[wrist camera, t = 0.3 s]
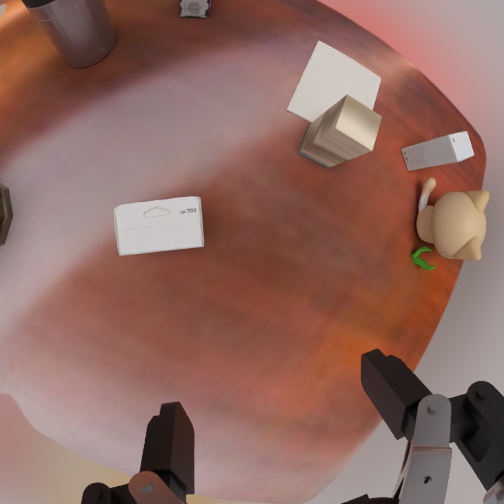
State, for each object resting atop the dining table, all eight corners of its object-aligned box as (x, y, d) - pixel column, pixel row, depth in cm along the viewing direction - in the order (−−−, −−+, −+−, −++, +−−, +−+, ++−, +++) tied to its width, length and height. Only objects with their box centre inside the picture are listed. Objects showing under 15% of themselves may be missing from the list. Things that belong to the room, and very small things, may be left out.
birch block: (327, 168, 40) (372, 151, 28) (297, 152, 39) (335, 128, 27) (337, 140, 40) (381, 117, 28) (308, 125, 39) (347, 94, 27)
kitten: (431, 272, 46) (492, 287, 31) (396, 260, 44) (462, 274, 29) (445, 197, 45) (505, 194, 30) (412, 177, 43) (477, 167, 28)
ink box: (140, 248, 36) (116, 259, 25) (136, 211, 36) (111, 205, 24) (203, 242, 38) (205, 250, 26) (200, 204, 37) (201, 195, 26)
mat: (358, 150, 41) (360, 150, 40) (286, 110, 38) (286, 109, 38) (380, 79, 40) (381, 78, 40) (318, 41, 38) (318, 40, 37)
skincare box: (407, 172, 43) (457, 162, 31) (399, 148, 42) (448, 134, 30) (427, 165, 44) (475, 155, 32) (420, 143, 43) (467, 129, 31)
